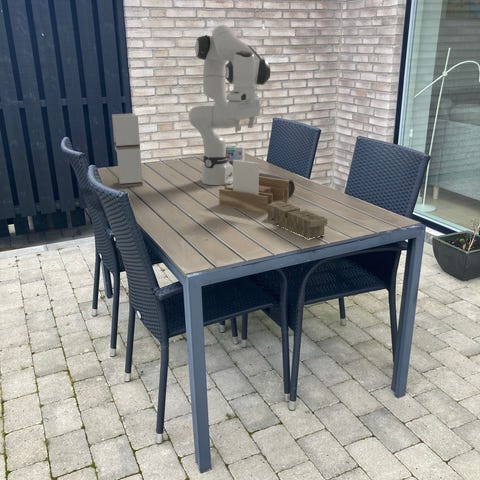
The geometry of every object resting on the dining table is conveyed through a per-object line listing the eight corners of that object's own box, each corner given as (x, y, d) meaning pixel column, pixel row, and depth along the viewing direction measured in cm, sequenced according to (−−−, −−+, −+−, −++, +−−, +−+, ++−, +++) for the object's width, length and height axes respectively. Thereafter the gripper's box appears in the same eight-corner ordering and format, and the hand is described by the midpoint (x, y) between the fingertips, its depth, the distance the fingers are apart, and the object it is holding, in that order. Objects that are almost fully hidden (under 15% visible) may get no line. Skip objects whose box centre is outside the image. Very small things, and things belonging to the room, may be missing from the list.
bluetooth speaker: (246, 193, 253) (246, 173, 249) (258, 189, 259) (258, 169, 255) (282, 202, 238) (283, 180, 235) (295, 198, 244) (295, 177, 241)
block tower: (265, 223, 214) (310, 242, 190) (265, 203, 211) (310, 220, 187) (281, 219, 218) (326, 238, 194) (281, 200, 215) (327, 216, 191)
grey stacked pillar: (139, 180, 276) (134, 113, 263) (142, 185, 266) (137, 116, 254) (117, 182, 272) (111, 114, 260) (120, 187, 263) (114, 117, 251)
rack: (243, 197, 245) (243, 173, 241) (288, 205, 233) (288, 180, 229) (218, 208, 229) (218, 182, 225) (265, 217, 217) (266, 190, 213)
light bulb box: (225, 164, 312) (225, 146, 309) (227, 162, 319) (227, 144, 315) (242, 165, 311) (242, 147, 307) (244, 163, 317) (244, 145, 313)
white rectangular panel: (235, 204, 229) (234, 159, 222) (258, 208, 223) (259, 162, 216) (233, 205, 228) (232, 160, 221) (256, 209, 222) (257, 163, 215)
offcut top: (244, 188, 235) (244, 183, 235) (270, 193, 228) (270, 187, 227) (236, 191, 231) (236, 186, 230) (263, 196, 223) (263, 190, 222)
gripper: (251, 92, 219) (251, 125, 224) (223, 96, 203) (224, 131, 208) (264, 92, 216) (263, 126, 221) (237, 97, 200) (237, 133, 205)
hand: (244, 129), depth 214 cm, fingers open, 8 cm apart
